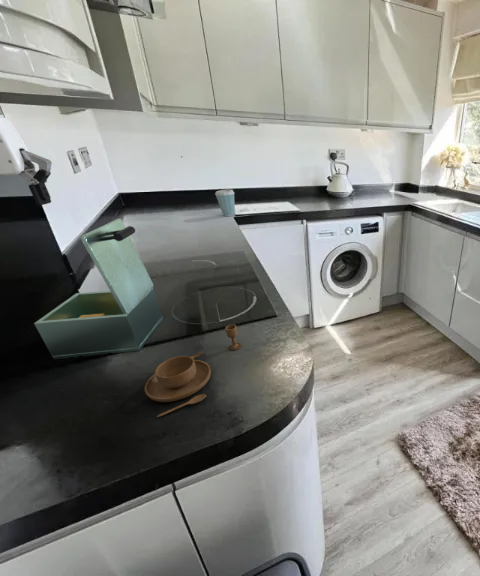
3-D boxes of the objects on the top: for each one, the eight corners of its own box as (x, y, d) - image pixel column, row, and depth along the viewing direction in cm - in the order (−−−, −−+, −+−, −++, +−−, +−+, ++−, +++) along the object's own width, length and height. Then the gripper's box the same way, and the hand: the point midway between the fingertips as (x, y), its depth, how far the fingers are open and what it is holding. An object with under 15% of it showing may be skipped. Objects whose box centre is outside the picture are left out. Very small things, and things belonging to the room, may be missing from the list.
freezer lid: (79, 236, 65) (106, 232, 66) (117, 218, 78) (139, 215, 79) (123, 314, 74) (147, 310, 74) (151, 286, 87) (170, 283, 87)
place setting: (144, 371, 72) (136, 350, 69) (239, 341, 82) (234, 321, 80) (150, 424, 59) (139, 400, 56) (260, 380, 70) (256, 358, 67)
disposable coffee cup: (224, 218, 193) (219, 192, 187) (216, 215, 200) (211, 190, 193) (241, 215, 201) (237, 190, 194) (232, 212, 207) (228, 188, 200)
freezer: (53, 359, 75) (33, 323, 70) (91, 325, 88) (76, 293, 83) (139, 350, 78) (126, 315, 74) (163, 319, 91) (153, 287, 87)
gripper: (-116, 105, 53) (-55, 209, 60) (11, 108, 56) (53, 207, 64) (-69, 107, 59) (-19, 201, 67) (42, 110, 63) (77, 199, 70)
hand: (16, 204), depth 65 cm, fingers open, 9 cm apart
